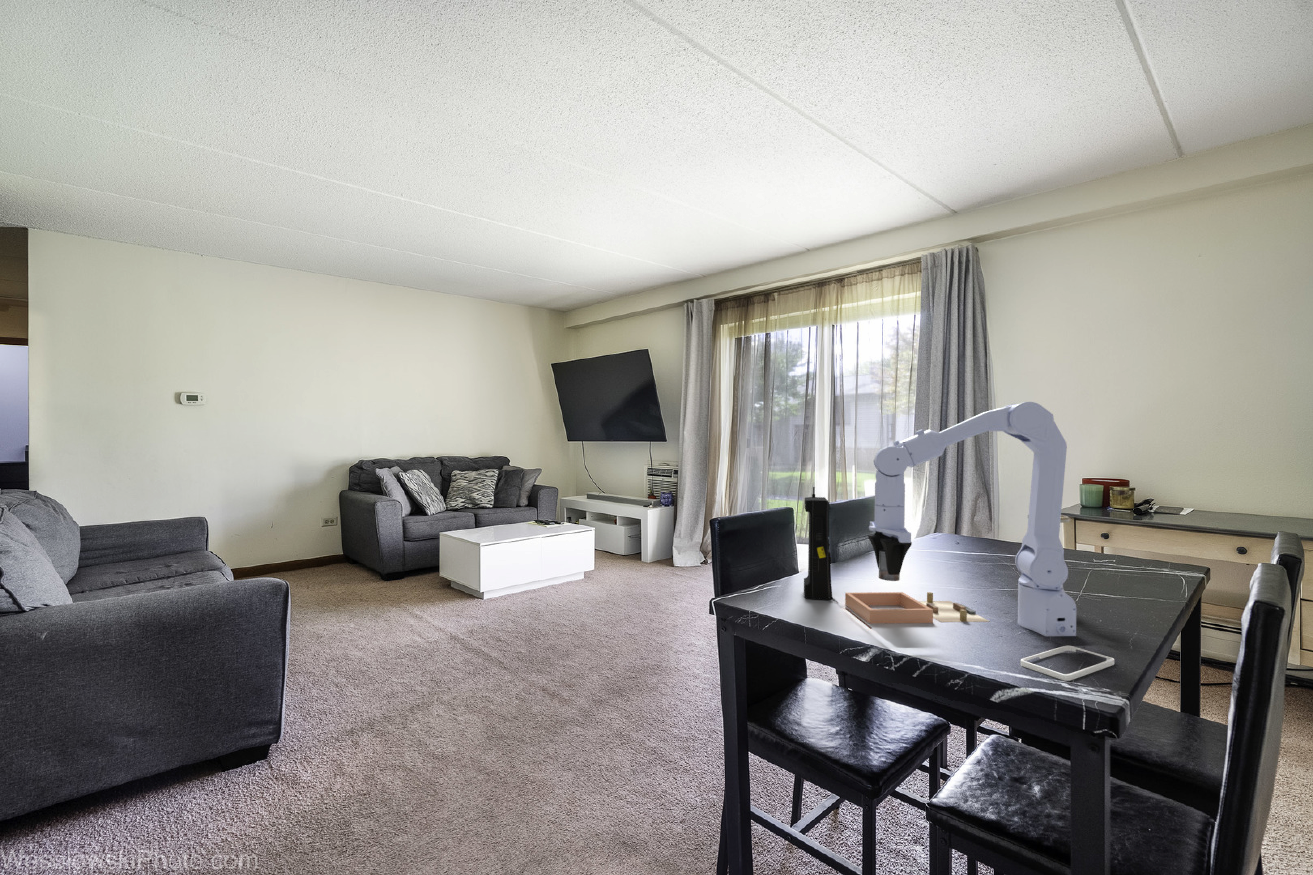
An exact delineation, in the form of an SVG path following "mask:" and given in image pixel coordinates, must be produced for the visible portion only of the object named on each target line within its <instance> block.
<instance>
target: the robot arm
mask: <svg viewBox="0 0 1313 875" xmlns="http://www.w3.org/2000/svg"><path fill="white" fill-rule="evenodd" d="M985 432H1003V433H1004V434H1007V435H1008V436H1010V437H1012V438H1015V439H1017V440H1020V441H1021V443H1023V444H1024V445H1025V446H1026V447H1027V448H1028V449H1029V450H1031V451H1032V452H1033V461H1032V472H1031V482H1030V483H1031V484H1030V496H1029V506H1028V515H1029V516H1028V515H1027V530H1026V533H1025V535H1024V536H1023V538H1022V539H1021V540H1022V541H1021V547H1020V549H1019V550H1018V552H1017V553H1016V555H1015V558H1014V562H1015V567H1016V568H1017V570H1018V572H1020V573H1021V574H1020V576H1019V578H1018V583H1017V584H1018V586H1017V624H1018V625H1019V626H1020V627H1022V628H1024V629H1028V630H1031V631H1033V632H1035V633H1038V634H1040V635H1042V636H1044V637H1077V605H1076V604H1077V603H1076V602H1075V600H1074V598H1073V597H1071V596H1070V595H1068V594H1067V592H1066V591H1065V589H1064V583H1065V582H1066V581H1067V580H1068V576H1069V568H1068V565H1067V564H1066V561H1065V557H1064V554H1065V550H1064V547H1063V544H1062V541H1061V539H1060V531H1061V530H1060V528H1061V523H1060V520H1061V515H1062V508H1063V494H1064V483H1065V475H1066V474H1065V472H1066V463H1067V462H1066V460H1067V449H1068V447H1067V441H1066V439H1065V438H1064V436H1063V434H1062V433H1061V431H1060V429H1059V427H1058V426H1057V424H1056V422H1055V419H1054V414H1053V413H1052V412H1050V411H1049V410H1048V409H1047V408H1045V407H1044V406H1042V405H1041V404H1039V403H1037V402H1034V401H1024V402H1021V403H1010V404H1008V405H1005V406H1003V407H997V408H995V409H990V410H988V411H984V412H981V413H979V414H977V415H974V416H971V417H969V418H968V419H965V420H963V421H961V422H959V423H957V424H954V425H952V426H951V427H948V428H945V429H943V430H941V431H939V432H938V431H935V430H933V429H926V430H924V429H918V430H917V431H915V433H916V434H914V435H912V436H910V437H908V438H906V439H902V440H901V441H900V440H894V441H893V442H892V444H893V446H885V447H882V448H881V449H879V450H878V451H877V452H876V454H875V455H874V459H873V465H874V467H875V469H876V471H875V482H874V483H875V484H874V521H869V526H868V530H869V531H870V532H874V534H868V535H867V538H868V540H869V541H870V544H871V546H872V548H873V552H874V556H875V561H876V566H877V568H878V570H879V550H882V549H884V551H885V556H886V565H887V571H888V574H889V575H899V574H900V573H901V571H902V566H903V563H904V560H905V557H906V554H907V553H908V551H909V550H910V547H912V545H913V542H912V532H910V531H909V530H907V528H906V527H905V519H906V518H905V515H906V514H905V510H906V509H905V502H906V500H905V498H906V494H905V493H906V484H905V472H906V471H907V469H908V467H909V468H914V467H918V466H919V465H921V464H924V463H926V462H929V461H931V460H934V459H936V458H939V457H941V456H943V455H944V452H945V450H946V448H947V447H949V446H951V445H953V444H957V443H959V442H962V441H964V440H968V439H969V438H973V437H974V436H977V435H981V434H983V433H985Z"/></svg>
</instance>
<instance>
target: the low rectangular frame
mask: <svg viewBox="0 0 1313 875" xmlns="http://www.w3.org/2000/svg"><path fill="white" fill-rule="evenodd" d="M844 593H845V596H844V597H845V598H844V605H845V608H844V609H845V610H846V611H847V612H849V613H850V614H851V615H852V616H853V617H855V618H856V619H857V620H859V622H861V623H863V625H865V626H866V627H868V628H869V629H872V627H871V626H870V625H869V624H933V623H934V618H933V609H931V608H929V607H927V606H926V605H924V604H922V603H920V602H919V600H917V599H915V598H914V597H911V596H910V595H908V594H906V593H905V592H903V591H893V592H891V591H888V592H886V591H884V592H882V591H881V592H879V591H878V592H877V591H876V592H872V591H871V592H844ZM846 606H847V607H848V608H849V609H848V608H847V607H846ZM870 606H901V607H903V608H871V607H870ZM851 610H852V611H853V612H852V611H851ZM855 613H856V614H857V615H858V616H857V615H856V614H855ZM859 616H860V617H859ZM861 618H862V619H861ZM863 620H864V621H863ZM865 621H866V622H867V623H866V622H865Z"/></svg>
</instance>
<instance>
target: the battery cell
mask: <svg viewBox="0 0 1313 875" xmlns="http://www.w3.org/2000/svg"><path fill="white" fill-rule="evenodd" d="M900 577H901V576H900V574H899V575H889V574H888V571H887V565H886V556H885V551H884V549H882V550H879V569H878V579H880V580H882V581H888V582H898V581H899V582H900V580H901V579H900Z"/></svg>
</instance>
